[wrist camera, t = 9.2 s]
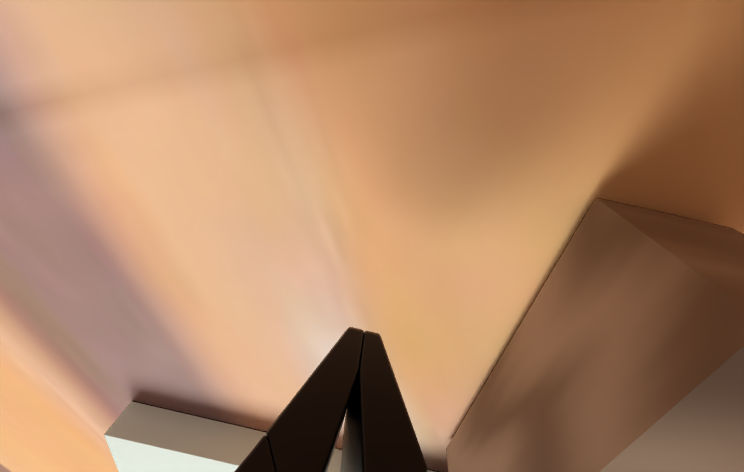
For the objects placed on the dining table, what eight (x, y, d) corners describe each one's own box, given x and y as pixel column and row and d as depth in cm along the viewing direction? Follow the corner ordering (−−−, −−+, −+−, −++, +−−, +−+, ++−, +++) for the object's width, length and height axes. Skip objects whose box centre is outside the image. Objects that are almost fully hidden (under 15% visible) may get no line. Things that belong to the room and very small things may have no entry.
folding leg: (509, 479, 17) (546, 639, 12) (436, 463, 17) (446, 618, 12) (728, 226, 9) (1063, 401, 4) (593, 196, 9) (789, 340, 4)
